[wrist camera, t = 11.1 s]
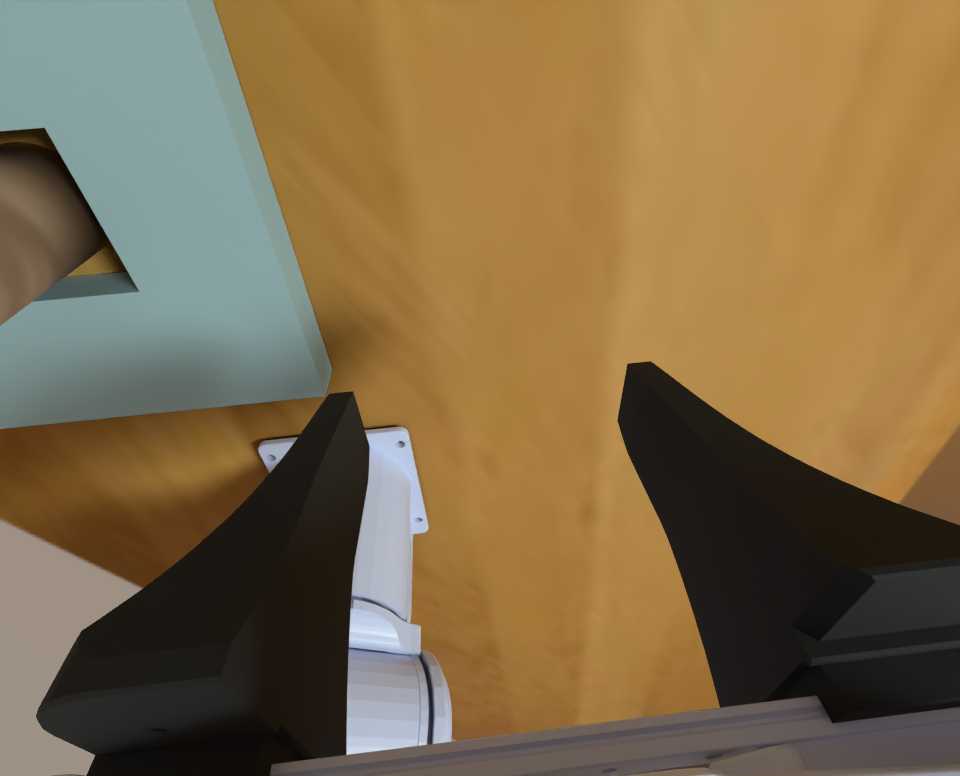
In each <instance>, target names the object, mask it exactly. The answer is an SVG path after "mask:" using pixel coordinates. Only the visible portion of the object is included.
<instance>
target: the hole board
mask: <svg viewBox="0 0 960 776" xmlns="http://www.w3.org/2000/svg"><path fill="white" fill-rule="evenodd" d="M35 128H45V129H46V131H47V133H48V135H49V136H50V138H51V140H52V141H53V143H54V145H55V147H56V148H57V150H58V152H59V154H60V155H61V157H62V159H63V160H64V162H65V164H66V166H67V167H68V169H69V171H70V173H71V174H72V176H73V178H74V179H75V181H76V183H77V185H78V186H79V188H80V190H81V192H82V193H83V195H84V197H85V199H86V200H87V202H88V204H89V205H90V207H91V209H92V211H93V212H94V214H95V216H96V218H97V219H98V221H99V223H100V224H101V226H102V228H103V230H104V231H105V233H106V235H107V237H108V238H109V240H110V242H111V243H112V245H113V247H114V249H115V250H116V252H117V254H118V256H119V257H120V259H121V261H122V262H123V264H124V266H125V268H126V269H127V272H116V273H105V274H94V275H83V276H72V277H64V278H63V279H61V280H60V281H59V282H58V283H56V284H55V285H54V286H52V287H51V288H50V289H48V290H47V291H46V292H44V293H43V294H42V295H40V296H39V297H38V298H36V299H35V300H34V301H32V302H31V303H30V304H28V305H27V306H26V307H25V308H23V309H22V310H21V311H19V312H18V313H17V314H15V315H14V316H13V317H11V318H10V319H9V320H7V321H6V322H5V323H3V324H2V325H1V326H0V429H6V428H16V427H25V426H35V425H45V424H55V423H65V422H75V421H85V420H95V419H105V418H114V417H124V416H134V415H144V414H154V413H164V412H174V411H184V410H194V409H203V408H213V407H223V406H233V405H243V404H253V403H263V402H273V401H283V400H292V399H302V398H312V397H322V396H326V393H327V389H328V385H329V381H330V377H331V373H332V367H331V364H330V361H329V358H328V355H327V352H326V348H325V345H324V342H323V339H322V336H321V333H320V330H319V327H318V324H317V321H316V318H315V315H314V312H313V308H312V305H311V302H310V299H309V296H308V293H307V290H306V287H305V284H304V281H303V278H302V275H301V272H300V268H299V265H298V262H297V259H296V256H295V253H294V250H293V247H292V244H291V241H290V238H289V235H288V232H287V228H286V225H285V222H284V219H283V216H282V213H281V210H280V207H279V204H278V201H277V198H276V195H275V191H274V188H273V185H272V182H271V179H270V176H269V173H268V170H267V167H266V164H265V161H264V158H263V155H262V151H261V148H260V145H259V142H258V139H257V136H256V133H255V130H254V127H253V124H252V121H251V118H250V115H249V111H248V108H247V105H246V102H245V99H244V96H243V93H242V90H241V87H240V84H239V81H238V78H237V75H236V71H235V68H234V65H233V62H232V59H231V56H230V53H229V50H228V47H227V44H226V41H225V38H224V35H223V31H222V28H221V25H220V22H219V19H218V16H217V13H216V10H215V7H214V4H213V1H212V0H0V131H10V130H22V129H35Z"/></svg>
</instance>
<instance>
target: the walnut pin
mask: <svg viewBox="0 0 960 776" xmlns="http://www.w3.org/2000/svg"><path fill="white" fill-rule="evenodd" d="M109 241H110V240H109V238H108V237H107V235H106V233H105V231H104V230H103V228H102V226H101V224H100V223H99V221H98V219H97V218H96V216H95V214H94V212H93V211H92V209H91V207H90V205H89V204H88V202H87V200H86V199H85V197H84V195H83V193H82V192H81V190H80V188H79V186H78V185H77V183H76V181H75V179H74V178H73V176H72V174H71V173H70V171H69V169H68V167H67V166H66V164H65V162H64V160H63V159H62V157H61V155H60V154H58V153H57V152H54V151H52V150H50V149H48V148H45V147H42V146H39V145H35V144H30V143H23V142H10V143H4V144H1V145H0V326H1V325H2V324H3V323H5V322H6V321H7V320H9V319H10V318H11V317H13V316H14V315H15V314H17V313H18V312H19V311H21V310H22V309H23V308H25V307H26V306H27V305H28V304H30V303H31V302H32V301H34V300H35V299H36V298H38V297H39V296H40V295H42V294H43V293H44V292H46V291H47V290H48V289H50V288H51V287H52V286H54V285H55V284H56V283H58V282H59V281H60V280H61V279H63V278H64V277H65V276H67V275H68V274H69V273H71V272H72V271H73V270H75V269H76V268H77V267H79V266H80V265H81V264H83V263H84V262H85V261H87V260H88V259H89V258H90V257H92V256H93V255H94V254H96V253H97V252H98V251H100V250H101V249H102V248H104V247H105V246H106V245H107V244H108V243H109Z"/></svg>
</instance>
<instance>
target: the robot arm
mask: <svg viewBox="0 0 960 776" xmlns="http://www.w3.org/2000/svg"><path fill="white" fill-rule="evenodd" d="M618 424H619V427H620V430H621V434H622V437H623V440H624V443H625V446H626V449H627V452H628V454H629V457H630V459H631V461H632V463H633V465H634V467H635V469H636V472H637V474H638V476H639V478H640V480H641V482H642V484H643V486H644V488H645V490H646V492H647V494H648V496H649V499H650V501H651V503H652V505H653V507H654V509H655V511H656V513H657V515H658V517H659V519H660V521H661V523H662V526H663V528H664V530H665V533H666V535H667V537H668V540H669V543H670V545H671V548H672V551H673V554H674V557H675V559H676V562H677V565H678V568H679V571H680V573H681V576H682V579H683V583H684V586H685V589H686V592H687V595H688V598H689V601H690V604H691V607H692V610H693V613H694V616H695V620H696V623H697V626H698V630H699V633H700V636H701V639H702V643H703V646H704V649H705V653H706V656H707V660H708V664H709V667H710V671H711V675H712V678H713V682H714V686H715V689H716V693H717V697H718V701H719V705H720V708H714V709H706V710H698V711H690V712H682V713H674V714H666V715H658V716H650V717H642V718H634V719H626V720H619V721H611V722H603V723H595V724H587V725H579V726H571V727H563V728H555V729H547V730H539V731H531V732H523V733H516V734H508V735H500V736H492V737H484V738H476V739H468V740H460V741H452V742H451V735H452V712H451V701H450V694H449V689H448V685H447V682H446V679H445V677H444V675H443V673H442V670H441V667H440V665H439V663H438V661H437V659H436V658H435V656H434V655H433V654H432V653H430V652H429V651H427V650H420V632H421V627H420V626H419V625H415V624H411V623H410V620H411V602H412V559H413V534H418V533H424V532H426V531H427V530H428V520H427V516H426V511H425V506H424V502H423V497H422V493H421V488H420V483H419V479H418V474H417V470H416V465H415V461H414V456H413V451H412V447H411V442H410V438H409V433H408V431H407V430H406V429H405V428H403V427H391V428H382V429H372V430H365V429H364V426H363V423H362V419H361V416H360V413H359V409H358V406H357V403H356V399H355V396H354V393H353V392H343V393H333V394H329V395H328V396H327V397H326V399H325V400H324V402H323V403H322V404H321V406H320V407H319V409H318V410H317V412H316V413H315V414H314V416H313V417H312V419H311V420H310V422H309V423H308V424H307V426H306V427H305V429H304V430H303V431H302V433H301V434H300V435H299V437H295V438H285V439H276V440H266V441H263V442H261V443H260V445H259V448H258V452H259V454H260V456H261V458H262V460H263V462H264V464H265V466H266V467H267V469H268V471H269V473H270V474H269V475H268V476H267V477H266V478H265V479H264V481H263V482H262V483H261V484H260V485H259V486H258V488H257V489H256V490H255V491H254V492H253V493H252V494H251V495H250V496H249V497H248V498H247V499H246V501H245V502H244V503H243V504H242V505H241V506H240V507H239V508H238V509H237V510H236V511H235V512H234V513H233V514H232V515H231V516H230V517H229V518H227V519H226V520H225V521H224V522H223V523H222V524H221V525H220V526H219V527H218V528H216V529H215V530H214V531H213V532H212V533H211V534H210V535H209V536H207V537H206V538H205V539H204V540H203V541H202V542H201V543H200V544H198V545H197V546H196V547H195V548H194V549H193V550H192V551H190V552H189V553H188V554H187V555H186V556H184V557H183V558H182V559H181V560H179V561H178V562H177V563H176V564H174V565H173V566H172V567H171V568H169V569H168V570H167V571H166V572H164V573H163V574H162V575H160V576H159V577H158V578H156V579H155V580H154V581H153V582H151V583H150V584H149V585H147V586H146V587H144V588H143V589H142V590H140V591H139V592H138V593H137V594H135V595H133V596H132V597H131V598H129V599H128V600H126V601H125V602H123V603H122V604H120V605H119V606H118V607H116V608H115V609H113V610H112V611H110V612H109V613H107V614H106V615H105V616H103V617H102V618H100V619H99V620H97V621H96V622H94V623H93V624H92V625H90V626H88V627H87V628H86V629H84V630H82V631H81V633H80V635H79V636H78V638H77V640H76V641H75V643H74V645H73V647H72V648H71V650H70V652H69V654H68V655H67V657H66V659H65V661H64V663H63V665H62V666H61V668H60V670H59V672H58V674H57V676H56V677H55V679H54V681H53V683H52V685H51V687H50V688H49V690H48V692H47V694H46V696H45V697H44V699H43V701H42V703H41V705H40V707H39V708H38V711H37V715H36V718H37V720H38V722H39V723H40V725H41V727H42V728H43V729H44V730H46V731H47V732H49V733H51V734H52V735H54V736H56V737H58V738H60V739H62V740H65V741H67V742H69V743H71V744H73V745H75V746H77V747H79V748H82V749H84V750H86V751H88V752H90V753H92V754H94V755H95V757H94V760H93V762H92V764H91V766H90V769H89V771H88V774H87V776H613V775H621V774H629V773H636V772H643V771H651V770H659V769H667V768H675V767H682V766H690V765H698V764H706V763H711V764H710V766H709V769H708V768H693V769H677V770H668V771H661V772H653V773H645V774H638V775H630V776H960V525H957V524H954V523H951V522H948V521H945V520H942V519H939V518H937V517H934V516H931V515H928V514H925V513H922V512H919V511H916V510H913V509H911V508H908V507H905V506H902V505H900V504H897V503H894V502H892V501H889V500H887V499H884V498H882V497H879V496H877V495H874V494H872V493H869V492H867V491H864V490H862V489H860V488H857V487H855V486H853V485H850V484H848V483H846V482H843V481H841V480H839V479H837V478H835V477H833V476H830V475H828V474H826V473H824V472H822V471H820V470H818V469H816V468H814V467H811V466H809V465H807V464H805V463H803V462H801V461H800V460H798V459H796V458H794V457H792V456H790V455H788V454H786V453H785V452H783V451H781V450H779V449H777V448H776V447H774V446H772V445H770V444H768V443H767V442H765V441H763V440H761V439H760V438H758V437H756V436H755V435H753V434H752V433H750V432H748V431H747V430H745V429H744V428H742V427H741V426H739V425H738V424H736V423H734V422H733V421H731V420H730V419H728V418H727V417H725V416H724V415H723V414H721V413H720V412H718V411H717V410H715V409H714V408H712V407H711V406H710V405H708V404H707V403H706V402H704V401H703V400H701V399H700V398H699V397H697V396H696V395H695V394H693V393H692V392H691V391H689V390H688V389H687V388H685V387H684V386H683V385H681V384H680V383H679V382H677V381H676V380H675V379H674V378H672V377H671V376H670V375H668V374H667V373H666V372H664V371H663V370H662V369H660V368H659V367H658V366H656V365H655V364H653V363H652V362H651V361H650V362H640V363H630V364H628V365H627V370H626V376H625V381H624V387H623V393H622V398H621V404H620V409H619V415H618ZM398 441H403V442H402V443H400V442H398ZM271 455H273V456H271ZM54 776H83V775H73V774H67V775H54Z"/></svg>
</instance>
